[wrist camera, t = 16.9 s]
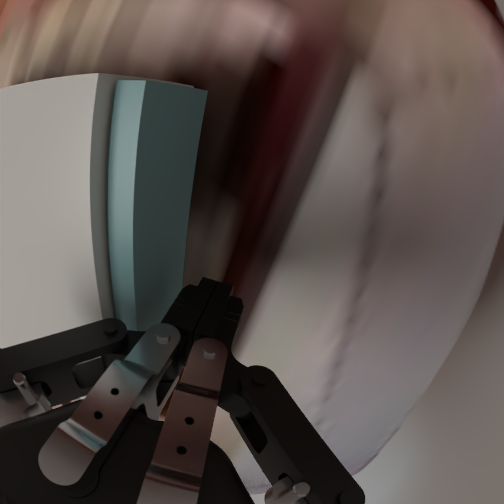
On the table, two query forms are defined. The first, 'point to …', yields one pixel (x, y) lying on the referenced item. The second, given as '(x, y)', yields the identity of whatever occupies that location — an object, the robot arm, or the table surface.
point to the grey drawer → (150, 195)
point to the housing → (55, 205)
